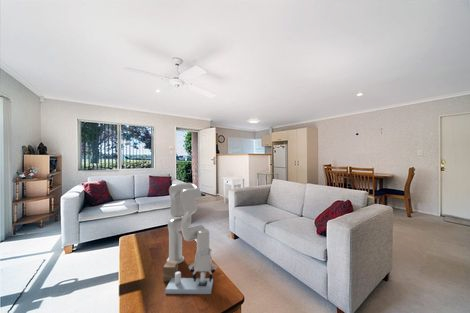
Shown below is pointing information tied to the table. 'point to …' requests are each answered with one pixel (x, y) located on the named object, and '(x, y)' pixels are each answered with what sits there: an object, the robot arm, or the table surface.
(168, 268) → the wooden box
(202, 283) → the peg
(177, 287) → the board
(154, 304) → the table surface
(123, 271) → the table surface
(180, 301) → the table surface
